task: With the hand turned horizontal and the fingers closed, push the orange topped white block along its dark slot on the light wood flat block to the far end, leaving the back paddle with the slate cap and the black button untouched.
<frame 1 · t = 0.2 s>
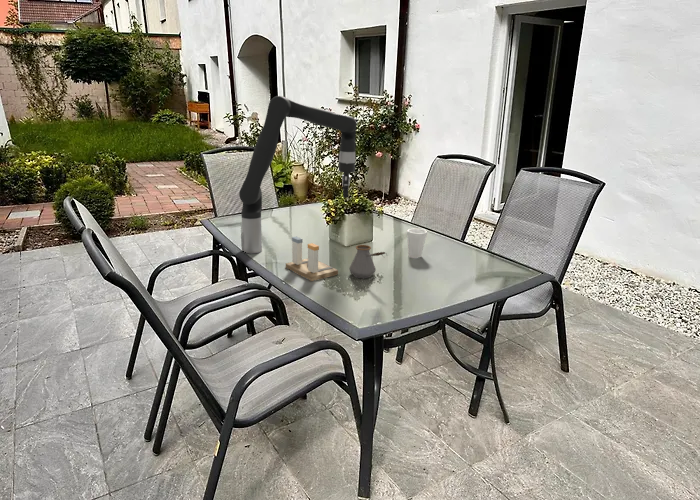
hand: (345, 195, 219), 29 cm above the table, tool pointing down, fingers open, 8 cm apart
paddle back: (297, 250, 204), point 8 cm above the table, slide at 0.0 cm
orange topped white block: (313, 258, 196), point 8 cm above the table, slide at 0.0 cm
foam cup: (414, 256, 229), on the table
light wood flat block: (311, 270, 205), on the table
coffee pot: (368, 279, 198), on the table
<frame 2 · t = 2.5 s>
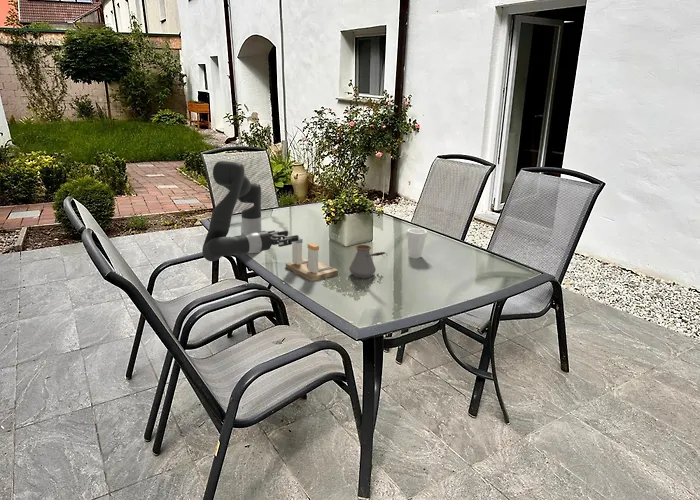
hand: (292, 235, 186), 20 cm above the table, tool horizontal, fingers open, 7 cm apart
nothing on the table moved.
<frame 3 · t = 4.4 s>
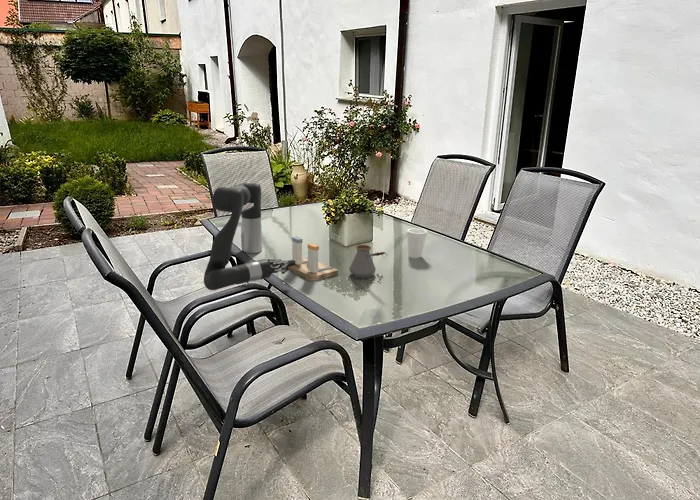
hand: (294, 262, 190), 9 cm above the table, tool horizontal, fingers closed
nothing on the table moved.
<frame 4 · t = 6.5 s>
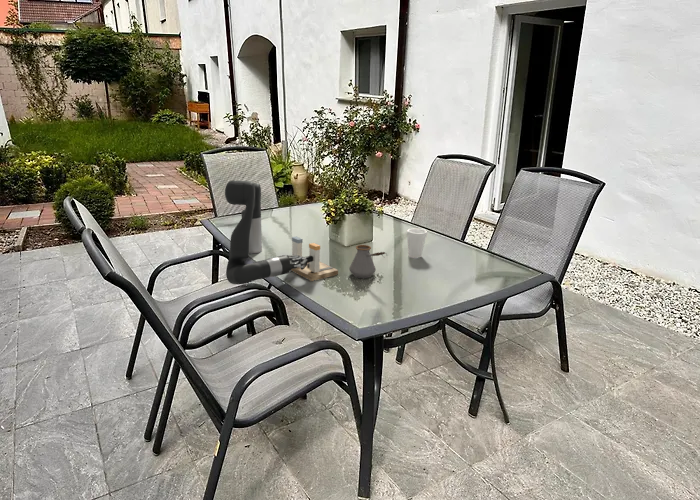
hand: (312, 258, 195), 8 cm above the table, tool horizontal, fingers closed
orange topped white block: (314, 257, 196), point 8 cm above the table, slide at 0.7 cm, touching gripper
everything else where it was.
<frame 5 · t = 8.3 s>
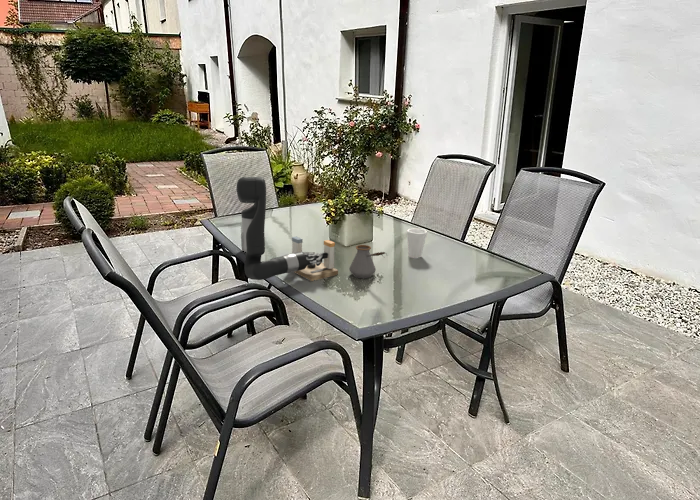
hand: (326, 254, 200), 8 cm above the table, tool horizontal, fingers closed
orange topped white block: (329, 254, 201), point 8 cm above the table, slide at 8.5 cm, touching gripper
everything else where it was.
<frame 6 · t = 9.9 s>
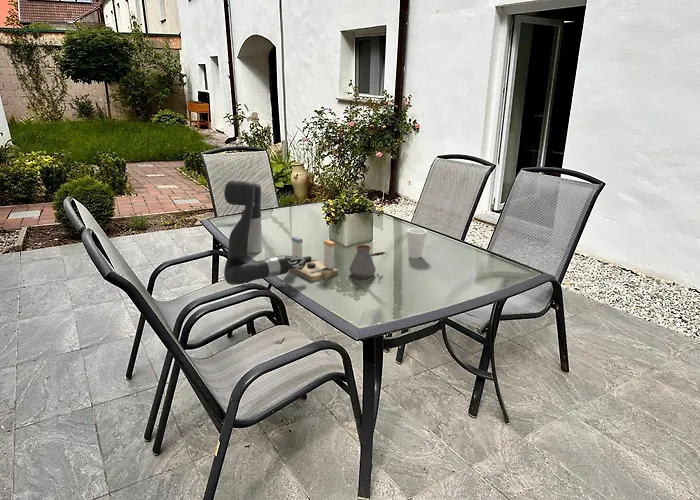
hand: (310, 258, 194), 9 cm above the table, tool horizontal, fingers closed
orange topped white block: (329, 254, 201), point 8 cm above the table, slide at 8.6 cm
everything else where it was.
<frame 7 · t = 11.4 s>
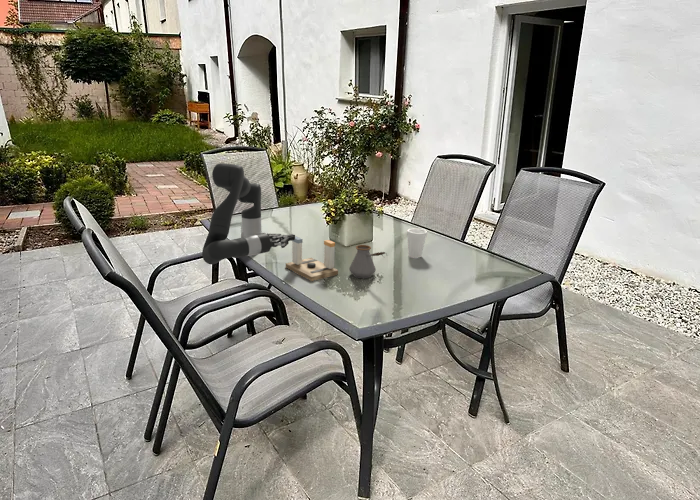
hand: (294, 236, 186), 19 cm above the table, tool horizontal, fingers closed
nothing on the table moved.
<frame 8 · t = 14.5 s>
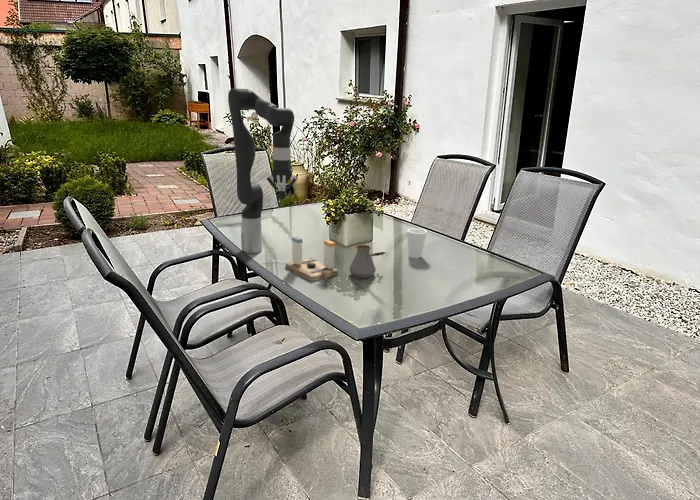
hand: (282, 199, 198), 31 cm above the table, tool pointing down, fingers closed
nothing on the table moved.
at the end: orange topped white block slide at 8.6 cm; paddle back slide at 0.0 cm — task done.
